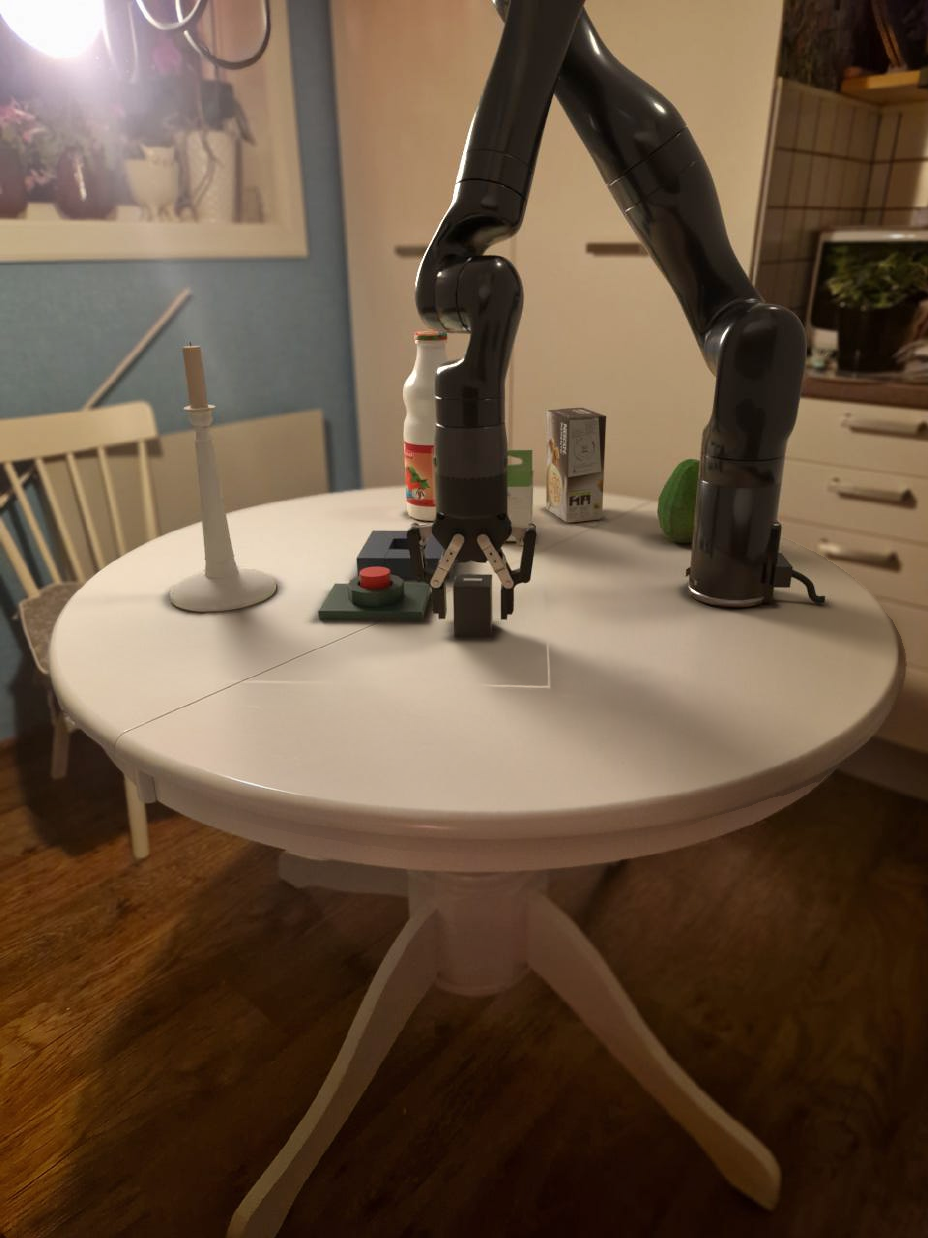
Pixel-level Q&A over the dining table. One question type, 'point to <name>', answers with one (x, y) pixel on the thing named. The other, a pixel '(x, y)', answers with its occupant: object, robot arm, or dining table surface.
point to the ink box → (520, 489)
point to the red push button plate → (376, 602)
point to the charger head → (472, 605)
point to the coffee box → (575, 464)
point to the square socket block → (397, 554)
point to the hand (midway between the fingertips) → (473, 616)
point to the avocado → (679, 502)
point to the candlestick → (213, 519)
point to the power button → (375, 578)
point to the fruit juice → (422, 424)
